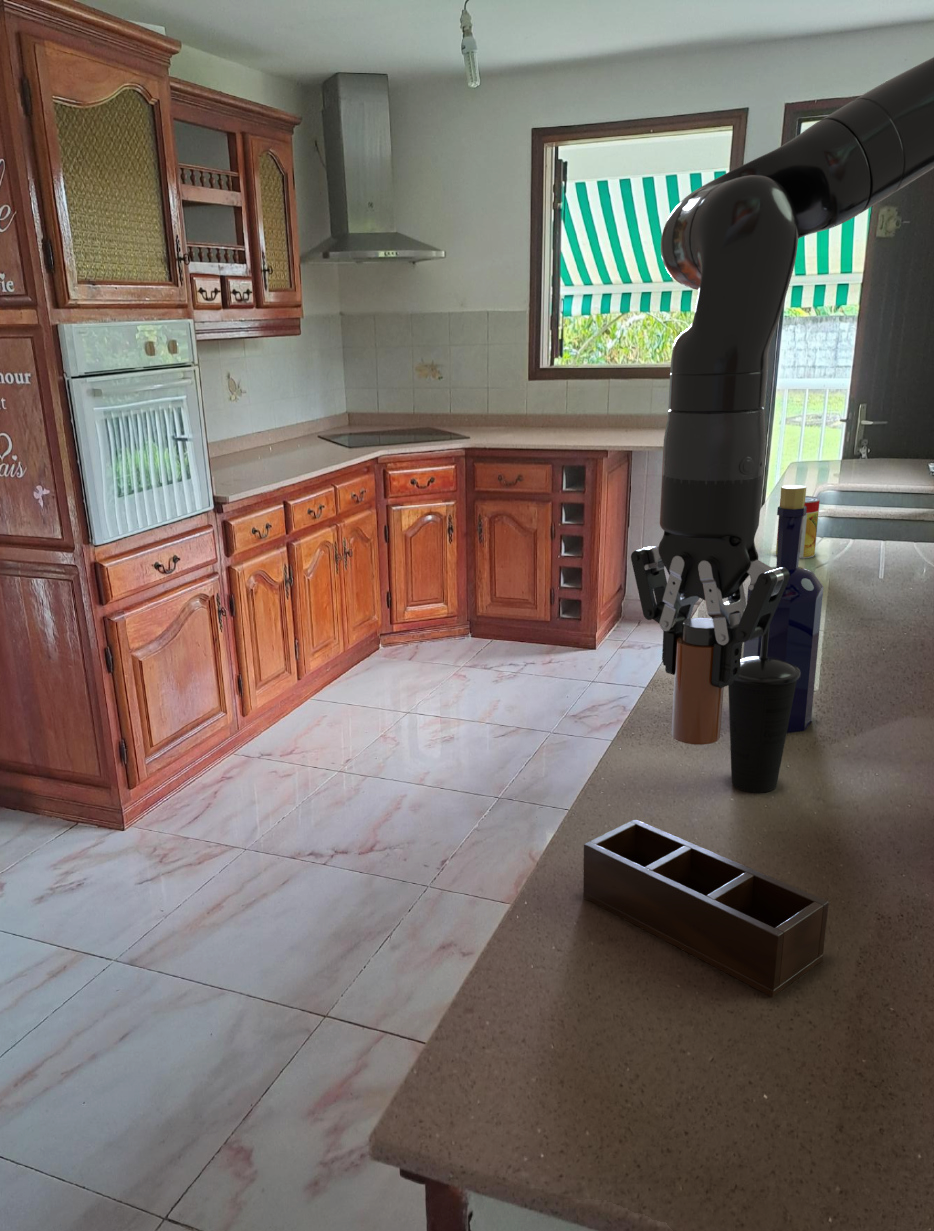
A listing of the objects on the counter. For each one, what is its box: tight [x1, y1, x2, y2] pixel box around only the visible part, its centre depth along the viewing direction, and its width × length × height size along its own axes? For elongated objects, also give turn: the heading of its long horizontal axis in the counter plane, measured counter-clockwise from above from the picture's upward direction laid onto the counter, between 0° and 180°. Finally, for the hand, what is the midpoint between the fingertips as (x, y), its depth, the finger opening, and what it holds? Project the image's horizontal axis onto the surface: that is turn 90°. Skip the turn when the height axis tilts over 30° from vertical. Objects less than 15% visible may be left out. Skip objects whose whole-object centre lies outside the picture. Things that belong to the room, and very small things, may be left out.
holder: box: [582, 818, 830, 998], centre depth 85 cm, size 7×20×6 cm, turn 38°
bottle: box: [742, 484, 824, 734], centre depth 124 cm, size 9×9×30 cm
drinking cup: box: [727, 627, 800, 794], centre depth 108 cm, size 8×8×20 cm
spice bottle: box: [671, 617, 725, 746], centre depth 83 cm, size 4×4×10 cm
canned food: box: [775, 495, 821, 560], centre depth 212 cm, size 8×8×12 cm
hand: (698, 677), depth 83 cm, fingers closed on spice bottle, 4 cm apart
